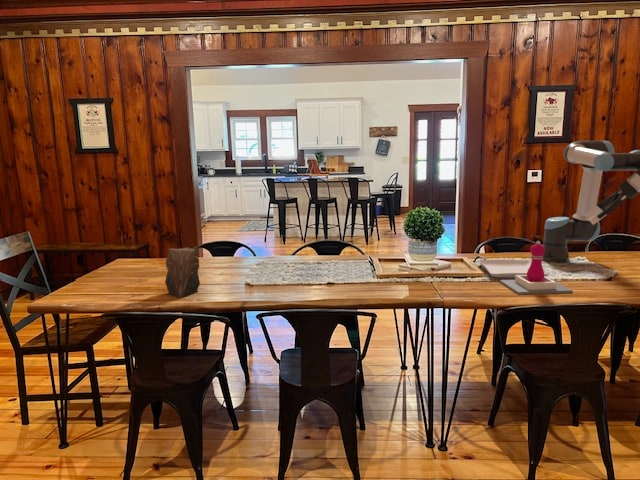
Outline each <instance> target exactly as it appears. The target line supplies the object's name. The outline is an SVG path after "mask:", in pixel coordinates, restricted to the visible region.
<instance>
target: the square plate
mask: <svg viewBox="0 0 640 480" xmlns="http://www.w3.org/2000/svg"><path fill="white" fill-rule="evenodd" d="M477 262H478V263H479V264H480V266H481V267H482V268H484V269H485V270H486V271H487V272H488V273H489V275H490V276H491V277H493V278H500V279H501V278H502V279H515V275H527V271H528V269H529V267H530V265H531V262H532V260H529V259H527V260H525V259H480V260H479V259H478V260H477ZM543 271H544V276H545V277H548V276H549V275H550V273H549V272H548V271H547V270H545V269H544V268H543Z"/></svg>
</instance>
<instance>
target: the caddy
mask: <svg viewBox="0 0 640 480" xmlns="http://www.w3.org/2000/svg"><path fill="white" fill-rule="evenodd" d="M528 279H529V278H528V277H527V275H515V278H514V279H499V283H500V284H502V285H503V286H505V287H506V288H508V289H509V290H511V291H512V292H513V293H515V294H517V295H541V294H544V295H545V294H547V295H548V294H572V293H573V290H572V289H570V288H569V287H567V286H565V285H563V284H560V283H559V282H557V281H556V280H553V279H551V278H549V277H548V276H546V277H545V276H544V278H543V279H542V281H543V282H529V281H527V280H528Z"/></svg>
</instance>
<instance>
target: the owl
mask: <svg viewBox="0 0 640 480" xmlns="http://www.w3.org/2000/svg"><path fill="white" fill-rule="evenodd" d="M167 252H168V253H167V257H166V258H165V259H166V260H165V268H166V269H167V273H166V277H165V280H164V283H165V286H166V288H167V293H168V295H171V296H173V297H175V298H178V299H183V298H187V297H189V296H191V295H194V294H196V293H199V290H198V289H199V286H200V284H201V282H200V277H199V270H200V259H199V256H198V248H191V247H189V246H188V247H183V248H167Z"/></svg>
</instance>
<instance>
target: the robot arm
mask: <svg viewBox="0 0 640 480" xmlns="http://www.w3.org/2000/svg"><path fill="white" fill-rule="evenodd" d="M614 148H615V147H614V146H613V144H612V142H611V141H608V140H601V139H600V140H578V141H573V142H571V143H568V145H567V146H566V147H564V149H563V157H564V159H565V161H566V162H567V163H570V164H575V165H578V164H579V165H581V168H582V169H583V173H582V178H581V184H580V185H581V186H580V191H579V196H578V201H577V207H576V212H575V213H574V214H572V218H571V219H570V217H567V216H555V217H549V218H547V219H546V220H545V224H544V230H543V243H542V246H544V248H545V253H544V254H543V259H542V261H544V262H549V263H559V264H560V263H568V262H570V254H569V250H568V242H592V241H594V240H596V239H597V238H598V236H599V235H600V232H601V224H600V221H601V220H602V219H603V218H605V217H606V216H607V215H612V213H613V212H614V211H616V210H617V208H619V207H620V206H621V205H622V204H623V203H624V202H625V201H627V200H628V199H634V198H636V196H638V195H639V193H640V149H635V150H632V151H630V152H621V153H620V152H618V153H617V152H615V149H614ZM608 171H609V172H612V171H613V172H614V171H616V172H617V171H624V172H626V171H628V172H629V171H636V172H634V173H633V174H631V175H630V176H629V177H628V178H627V179H626V180H625V181H623V182H622V183H620V184H618V186H617V187H618V188H619V190H615V192H613V193H612V194H610V195H609V196H607V197H605V198H604V199H603V200H601V201H599V202H598V197H599V193H600V187H601V182H602V177H603V172H608Z"/></svg>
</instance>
